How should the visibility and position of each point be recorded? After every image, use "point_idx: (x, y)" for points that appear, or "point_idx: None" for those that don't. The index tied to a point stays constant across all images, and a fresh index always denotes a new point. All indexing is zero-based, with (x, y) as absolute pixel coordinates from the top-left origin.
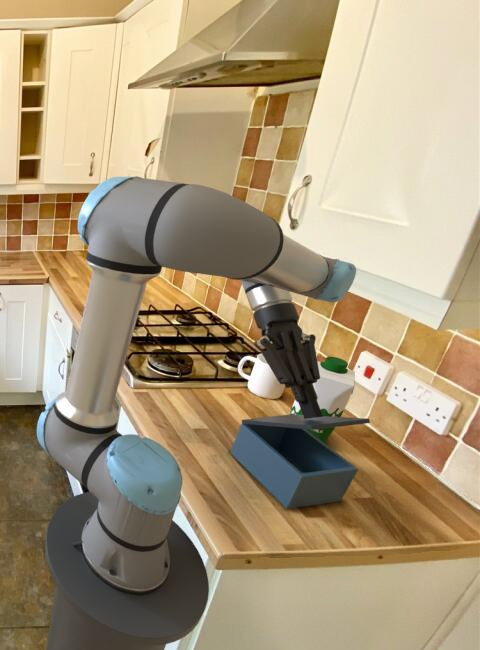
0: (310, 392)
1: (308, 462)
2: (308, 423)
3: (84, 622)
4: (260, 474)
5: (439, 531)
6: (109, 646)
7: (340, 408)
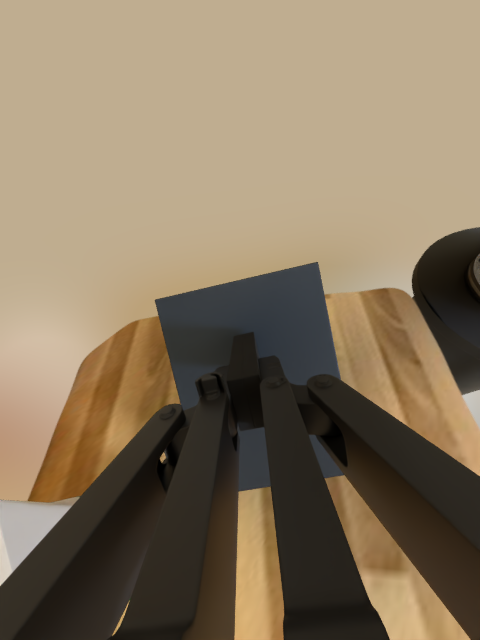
0: (242, 362)
1: None
2: (298, 298)
3: None
4: None
5: (150, 326)
6: None
7: (73, 497)
